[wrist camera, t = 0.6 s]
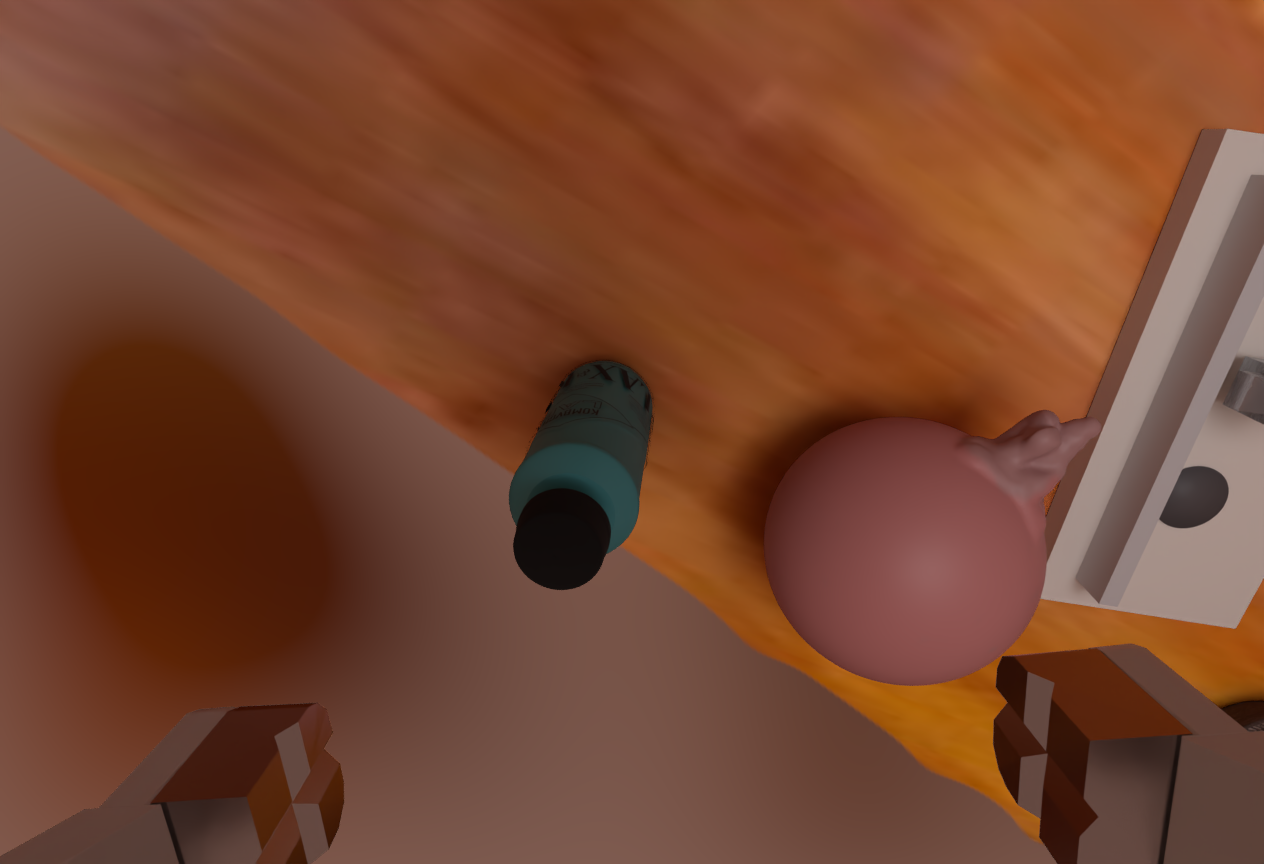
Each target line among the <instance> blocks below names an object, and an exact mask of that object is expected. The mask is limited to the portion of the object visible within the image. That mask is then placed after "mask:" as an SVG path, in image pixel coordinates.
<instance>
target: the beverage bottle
mask: <svg viewBox="0 0 1264 864" xmlns="http://www.w3.org/2000/svg"><path fill="white" fill-rule="evenodd" d="M596 361H597V362H592V363H588V364H585V365H582V364H581V365H582V366H580V367H579V368H577V369H576V370H573V369H572V370H573V372H572V371H571V372H572V373H571V374H570V375H568V377H567V378H566V379H565V381H562V382H561V384H560V385H559V386H560V387H561V388H560V390H558V391H559V392H558V394H557V396H556V397H555V399H553V400H554V401H553V400H552V399H551V400H552V401H553V403H552V402H551V401H550V402H551V403H549V405H548V407H547V409H546V412H547V411H548V410H549V411H548V413H547V415H546V417H545V419H544V417H543V419H544V420H543V422H542V421H540V422H542V423H540V424H541V425H540V428H539V427H538V430H537V431H538V432H537V433H536V434H535V435H536V436H535V438H534V440H533V442H532V444H531V446H530V449H529V451H527V452H528V453H527V455H526V457H525V459H524V461H523V462H522V464H521V465H520V466H519V468H518V469H517V471H516V473H515V475H514V477H513V480H512V482H511V486H510V491H509V505H510V511H511V514H512V518H513V520H514V522H515V524H516V526H517V527H516V534H515V537H514V543H513V548H514V555H515V559H516V561H517V564H518V565H519V567H520V569H521V570H522V571H523V573H524V574H525V575H526V576H527V577H528V578H530V579H531V580H532V581H534V582H535V583H537V584H539V585H541V586H543V587H546V588H550V589H555V590H567V589H573V588H576V587H579V586H581V585H583V584H585V583H587V582H588V581H590V580H591V579H592V578H593V577H594V576H595V575H596V574H597V572H598V571H599V569H600V567H601V565H602V563H603V559H604V557H605V555H606V554H607V553H609V552H611V551H613V550H614V549H616V548H617V547H618V546H620V545H621V544H622V543H623V542H624V541H625V540H626V539H627V538H628V536H629V535H630V533H631V532H632V530H633V528H634V526H635V524H636V521H637V518H638V513H639V496H640V489H641V482H642V476H643V469H645V468H644V464H645V460H646V454H647V455H648V453H647V446H648V449H649V445H648V439H649V440H650V438H649V434H651V430H650V429H651V428H650V425H651V426H652V423H653V422H654V419H653V422H651V417H652V418H653V415H652V399H654V398H652V399H651V395H650V390H648V388H647V386H646V384H645V383H644V381H645V380H644V381H643V380H642V379H641V378H640V377H639V376H638V375H637V374H636V373H637V372H636V371H635V370H634V371H635V372H636V373H635V372H634V371H633V369H632V370H631V369H630V367H629V368H628V366H627V367H626V365H625V366H624V364H623V365H622V364H621V363H620V364H619V362H618V363H615V361H613V362H610V360H606V361H598V360H596ZM590 362H591V361H590ZM586 363H587V362H586ZM577 367H578V366H577ZM575 368H576V367H575ZM645 382H646V381H645ZM647 385H648V384H647ZM559 386H558V387H559ZM557 389H558V388H557ZM651 393H652V392H651ZM555 395H556V394H555ZM555 395H554V396H555ZM552 398H554V397H552ZM654 405H655V404H654ZM546 412H545V413H546ZM654 414H655V413H654ZM652 430H653V426H652ZM649 432H650V433H649ZM530 441H531V440H530ZM526 449H527V448H526ZM646 463H648V462H647V460H646Z"/></svg>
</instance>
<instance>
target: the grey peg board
mask: <svg viewBox="0 0 1264 864" xmlns="http://www.w3.org/2000/svg"><path fill="white" fill-rule="evenodd" d="M1245 356H1248V357H1254V358H1261V359H1264V134H1259V133H1252V132H1245V131H1239V130H1232V129H1202V132H1201V134H1200V137H1199V139H1198V142H1197V144H1196V147H1195V149H1194V151H1193V154H1192V156H1191V159H1190V161H1189V164H1188V166H1187V169H1186V171H1185V174H1184V176H1183V179H1182V181H1181V184H1180V186H1179V189H1178V191H1177V194H1176V196H1175V199H1174V201H1173V204H1172V206H1171V209H1170V211H1169V213H1168V216H1167V218H1166V221H1165V223H1164V226H1163V228H1162V231H1161V233H1160V236H1159V238H1158V241H1157V243H1156V246H1155V248H1154V251H1153V253H1152V256H1151V258H1150V261H1149V263H1148V266H1147V268H1146V271H1145V273H1144V275H1143V278H1142V280H1141V283H1140V285H1139V288H1138V290H1137V293H1136V295H1135V298H1134V300H1133V303H1132V305H1131V308H1130V310H1129V313H1128V315H1127V318H1126V320H1125V323H1124V325H1123V328H1122V330H1121V333H1120V335H1119V337H1118V340H1117V342H1116V345H1115V347H1114V350H1113V352H1112V355H1111V357H1110V360H1109V362H1108V365H1107V367H1106V370H1105V372H1104V375H1103V377H1102V380H1101V382H1100V385H1099V387H1098V390H1097V392H1096V395H1095V397H1094V399H1093V402H1092V404H1091V407H1090V409H1089V412H1088V414H1087V417H1093V418H1095V419H1097V420H1098V421H1099V422H1100V424H1101V430H1100V433H1099V434H1098V435H1097V436H1096V437H1094V438H1091V439H1090V440H1089V441H1088V442H1087V444H1086V445H1085V447H1084V448H1083V449H1081V450H1080V451H1079V452H1078V453H1077V454H1076V456H1075V457H1074V458H1073V459H1072V460H1071V461H1070V462H1069V463H1068V466H1067V469H1066V473H1065V475H1064V477H1063V478H1062V479H1061V481H1060V484H1059V486H1058V489H1057V491H1056V494H1055V496H1054V499H1053V501H1052V504H1051V506H1050V509H1049V511H1048V514H1047V516H1046V527H1045V531H1044V535H1045V541H1046V552H1047V566H1046V576H1045V582H1044V587H1043V591H1042V594H1041V598H1040V599H1046V600H1053V601H1059V602H1066V603H1072V604H1079V605H1085V606H1092V607H1098V608H1105V609H1111V610H1118V611H1124V612H1131V613H1137V614H1143V615H1150V616H1156V617H1163V618H1169V619H1176V620H1182V621H1189V622H1195V623H1202V624H1208V625H1215V626H1221V627H1228V628H1234V629H1236V627H1237V625H1238V623H1239V622H1240V620H1241V618H1242V616H1243V614H1244V613H1245V611H1246V609H1247V607H1248V605H1249V603H1250V602H1251V600H1252V598H1253V596H1254V594H1255V593H1256V591H1257V589H1258V587H1259V585H1260V584H1261V582H1262V580H1263V578H1264V424H1262V423H1260V422H1258V421H1255V420H1253V419H1251V418H1249V417H1247V416H1245V415H1243V414H1241V413H1239V412H1237V411H1235V410H1233V409H1231V408H1229V407H1227V406H1225V405H1223V402H1224V400H1225V398H1226V396H1227V394H1228V392H1229V390H1230V388H1231V385H1232V383H1233V381H1234V379H1235V377H1236V375H1237V373H1238V371H1239V369H1240V366H1241V364H1242V362H1243V360H1244V358H1245Z"/></svg>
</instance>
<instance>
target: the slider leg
mask: <svg viewBox="0 0 1264 864" xmlns="http://www.w3.org/2000/svg"><path fill="white" fill-rule="evenodd" d="M1223 405H1225V406H1227V407H1229V408H1231V409H1233V410H1235V411H1237V412H1239V413H1241V414H1243V415H1245V416H1247V417H1249V418H1251V419H1253V420H1255V421H1258V422H1260V423H1262V424H1264V359H1261V358H1254V357H1248V356H1245V358H1244V360H1243V362H1242V364H1241V366H1240V369H1239V371H1238V373H1237V375H1236V377H1235V379H1234V381H1233V383H1232V385H1231V388H1230V390H1229V392H1228V394H1227V396H1226V398H1225V400H1224V402H1223Z"/></svg>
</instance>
